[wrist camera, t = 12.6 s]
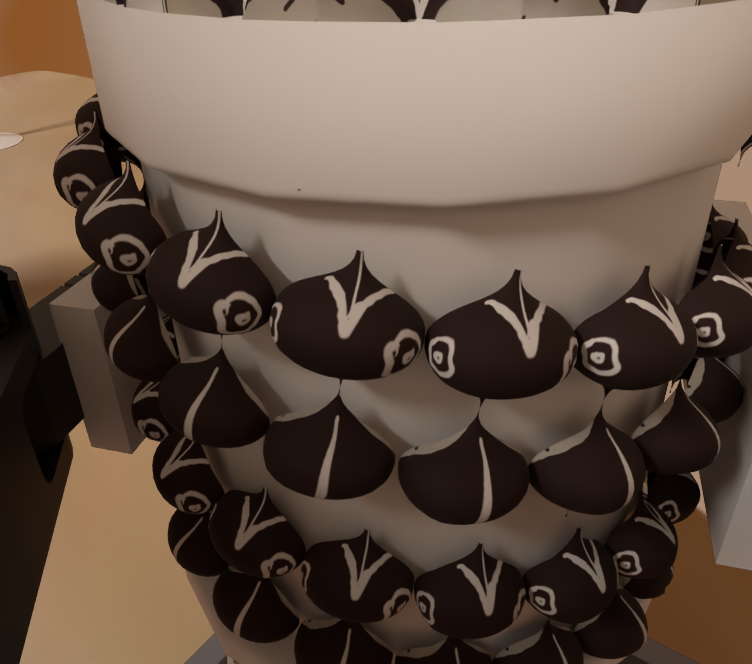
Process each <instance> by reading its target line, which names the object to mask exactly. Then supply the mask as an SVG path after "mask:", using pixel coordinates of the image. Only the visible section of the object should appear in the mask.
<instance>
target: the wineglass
mask: <svg viewBox="0 0 752 664" xmlns="http://www.w3.org/2000/svg"><path fill="white" fill-rule="evenodd" d="M22 139H23V137H22V136H21V135H19V134H14V133H3V132H2V133H0V150H1V149H5V148H8V147H11V146H13V145H16V144H18V143H19V142H21V141H22Z"/></svg>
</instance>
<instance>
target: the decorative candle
mask: <svg viewBox="0 0 752 664" xmlns="http://www.w3.org/2000/svg"><path fill="white" fill-rule="evenodd" d="M77 4H78V9H79V14H80V18H81V22H82V27H83V32H84V36H85V40H86V45H87V49H88V53H89V58H90V63H91V67H92V72H93V76H94V81H95V85H96V90H97V93H96V94H95V95H94V96H92V97H91V98H89V99H88V100H87V101H86V102H85V103H84V104H83V105H82V106H81V107H80V109H79V110H78V112H77V114H76V119H75V124H76V130H77V134H78V137H76V138H75V139H73V140H72V141H71V142H69V143H68V144H67V145H66V146H65V147H64V148H63V149H62V151H61V152H60V153H59V155H58V157H57V159H56V161H55V165H54V172H53V177H54V182H55V186H56V189H57V191H58V192H59V194H60V196H61V197H62V198H63V199H64V200H65V201H66V202H68V203H69V204H70V205H71V206H73V207H75V208H77V212H76V216H75V226H76V234H77V237H78V239H79V241H80V244H81V246H82V248H83V249H84V251H85V252H86V253H87V254H88V255H89V256H90V258H91V259H92V260H93V261H95V262H96V263H95V265H94V267H93V270H92V274H91V287H92V291H93V294H94V296H95V298H96V299H97V301H98V302H99V304H101V305H102V306H103V307H105V308H106V309H107V310H109V311H111V312H112V313H111V314H110V316H109V318H108V319H107V322H106V324H105V328H104V346H105V349H106V351H107V354H108V356H109V358H110V359H111V361H112V362H113V364H114V365H115V366H116V367H117V368H119V369H120V370H121V371H122V372H123V373H125V374H126V375H128V376H130V377H132V378H135V379H138V380H141V383H140V384H139V386H138V387H137V389H136V391H135V393H134V396H133V400H132V404H131V413H132V418H133V422H134V425H135V426H136V428H137V429H138V431H139V432H140V434H142V435H143V436H145V437H147V438H149V439H151V440H155V441H159V442H161V443H160V444H159V446H158V447H157V449H156V452H155V454H154V457H153V465H152V468H153V478H154V481H155V483H156V486H157V489H158V491H159V492H160V494H161V495H162V497H163V498H164V499H165V500H166V501H167V502H168V503H169V504H170V505H172V506H174V507H175V508H177V510H176V511H175V513H174V514H173V516H172V517H171V520H170V523H169V527H168V543H169V546H170V549H171V552H172V554H173V556H174V557H175V559H176V561H177V562H178V563H179V564H180V565H181V566H182V567H183V568H184V569H185V570H186V574H187V578H188V580H189V582H190V584H191V586H192V588H193V590H194V592H195V594H196V596H197V598H198V600H199V602H200V604H201V606H202V608H203V610H204V612H205V614H206V616H207V618H208V620H209V622H210V624H211V627H212V629H213V631H214V633H215V635H216V637H217V639H218V641H219V643H220V645H221V647H222V649H223V651H224V653H225V654H226V655H227V664H618V663H619V662H621V661H622V660H623V659H625V658H626V657H627V656H629V655H631V654H632V653H634V652H636V651H638V650H639V649H640V648H641V647H642V646H643V645H644V644H645V642H646V640H647V631H648V627H647V620H646V616H645V613H646V611H647V609H648V606H649V604H650V602H651V599H652V598H655V597H658V596H660V595H662V594H664V592H665V588H666V587H667V586H668V584H669V583H670V582H671V580H672V578H673V573H674V569H673V563H674V561H675V558H676V555H677V549H678V539H677V534H676V530H675V527H674V526H673V524H675V523H678V522H680V521H682V520H684V519H686V518H687V517H688V516H689V515H690V514H691V513H692V512H693V511H694V510H695V508H696V506H697V504H698V503H699V500H700V489H699V486H698V484H697V482H696V480H695V479H694V477H693V476H692V475H691V472H695V471H698V470H701V469H703V468H705V467H707V466H708V465H710V464H711V463H712V462H713V461H714V460H715V458H716V457H717V455H718V453H719V450H720V434H719V430H718V427H717V425H716V424H717V423H720V422H722V421H725V420H727V419H728V418H730V417H731V416H732V415H733V414H734V413H735V412H736V411H737V410H738V408H739V406H740V404H741V402H742V399H743V384H742V382H741V379H740V378H739V376H738V374H737V373H736V372H735V371H734V370H733V369H732V368H730V367H729V366H728V365H727V364H725V363H724V362H723V361H724V358H725V357H728V356H732V355H736V354H739V353H742V352H744V351H746V350H748V349H749V348H750V347H751V346H752V245H751V244H750V243H749V242H748V237H747V236H746V234H745V232H744V231H743V230H742V229H741V228H740V227H739V226H738V220H739V219H737V218H735V221H734V222H733V221H731V220H730V219H728V218H726V217H725V216H723V215H721V214H720V213H719V212H718V211H717V210H716V209H715V208H714V206H713V199H714V195H715V191H716V187H717V183H718V179H719V175H720V171H721V167H722V163H725V162H728V161H730V160H731V159H732V158H733V156H734V155H735V154H736V153H737V152H738V151H739V149H740V148H741V156H740V160H741V158H742V156H743V154H744V152H745V151H746V150H747V149H748V148H749V147H751V146H752V0H77ZM121 162H126V169H125V172H124V174H123V175H122V166H121ZM130 163H132V164H134V165H136V166H137V167H138V168H139V169H140V170H141V172H142V171H143V172H142V174H143V178H144V184H143V187H142V189H141V191H140V192H139V190H138V187H137V185H136V182H135V180H134V177H133V173H132V170H131V165H130ZM738 166H739V164H738ZM148 290H149V294H148ZM156 304H157V306H158V307H159V308H160V309H161V310H162V311H163V312H164V313H165V314H166V316H164V317H163V318H161V316H160V313H159V311H158V308H157V306H156ZM681 379H685V380H687V388H686V390H685V392H684V390H683V388H682V384H681ZM671 380H672V387H673V384H674V383H675V382H676V381H678V380H680V381H679V384H678V386H677V388H676V390H675V391H674V392H673V393H672V395H671V396H670V397H669V398H668V399H667V400H666V401H665V402H664V399H665V395H666V391H667V387H668V382H669V381H671ZM672 387H671V388H672ZM670 393H671V391H670ZM645 476H646V477H647V476H648V478H647V485H646V483H645V479H646V477H645Z"/></svg>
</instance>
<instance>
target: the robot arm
mask: <svg viewBox="0 0 752 664" xmlns="http://www.w3.org/2000/svg"><path fill="white" fill-rule="evenodd" d="M713 206H714V208H715V209H716V210H717V211H718V212H719V213H720V214H721V215H723V216H725V217H726V218H728V219H730V220H731V221H733V222H734V221H735V218H737V219H739V220H738V226H739V227H740V228H741V229H742V230H743V231H744V232H745V234H746V236H747V237H748V242H749V243H750V244H751V245H752V215H751V213H750V211H749V208H748V206H747V204H746V203H745V202H736V201H723V200H713ZM95 263H96V262H94V263H92V264H91V265H90V266H88V267H87V268H86V269H84V270H83V271H81V272H80V273H79V276H74V277H73V278H72V279H70V280H69V281H67V282H66V283H65V286H60V287H59V288H58V289H56V290H55V291H54V292H52V293H51V294H49V295H48V296H47V297H45V298H44V299H42V300H41V301H40V302H38V303H37V304H35V305H34V306H33V307H31V308H30V309H28V306H27V303H26V300H25V297H24V293H23V290H22V287H21V284H20V281H19V278H18V275H17V272H15V271H14V270H13V269H12V268H10V267H6V266H1V265H0V664H19V663H20V659H21V655H22V651H23V647H24V643H25V639H26V636H27V632H28V628H29V624H30V620H31V616H32V613H33V609H34V605H35V601H36V597H37V593H38V589H39V586H40V582H41V578H42V574H43V570H44V566H45V562H46V559H47V555H48V551H49V547H50V543H51V539H52V535H53V532H54V528H55V524H56V520H57V516H58V512H59V508H60V505H61V501H62V497H63V493H64V489H65V485H66V481H67V478H68V474H69V470H70V466H71V462H72V458H73V447H72V444H71V441H70V437H69V432H70V431H71V430H72V429H73V428H74V427H75V426H76V425H77V424H78V423H79V422H80V421H81V420H82V419H83V420H84V423H85V426H86V430H87V433H88V436H89V440H90V443H91V446H92V447H96V448H101V449H107V450H112V451H117V452H123V453H128V454H132V453H133V452H134V451H135V450H136V449H137V447H138V446H139V445H140V444H141V443H142V441H143V440H144V439H145V438H146V437H145V436H143V435H142V434H140V432H139V431H138V429H137V428H136V426H135V425H134V422H133V418H132V413H131V404H132V400H133V396H134V393H135V391H136V389H137V387H138V386H139V384H140V383H141V380H138V379H135V378H132V377H130V376H128V375H126V374H125V373H123V372H122V371H121V370H120V369H119V368H117V367H116V366H115V365H114V364H113V362H112V361H111V359H110V358H109V356H108V354H107V351H106V349H105V346H104V328H105V324H106V322H107V319H108V318H109V316H110V314H111V313H112V312H111V311H109V310H107V309H106V308H105V307H103V306H102V305H101V304H99V302H98V301H97V299H96V298H95V296H94V294H93V291H92V287H91V274H92V270H93V267H94V265H95ZM148 294H149V290H148ZM156 306H157V304H156ZM157 308H158V311H159V313H160V316H161V318H163V317H164V316H166V314H165V313H164V312H163V311H162V310H161V309H160V308H159V307H158V306H157ZM723 362H724V363H725V364H727V365H728V366H729V367H730V368H732V369H733V370H734V371H735V372H736V373H737V374H738V376H739V378H740V379H741V382H742V384H743V399H742V402H741V404H740V406H739V408H738V410H737V411H736V412H735V413H734V414H733V415H732V416H731V417H730V418H728V419H727V420H725V421H722V422H720V423H717V424H716V425H717V427H718V430H719V434H720V450H719V453H718V455H717V457H716V458H715V460H714V461H713V462H712V463H711V464H710V465H708V466H707V467H705V468H703V469H701V470H699V474H700V479H701V485H702V490H703V496H704V502H705V507H706V513H707V519H708V525H709V530H710V536H711V542H712V547H713V553H714V559H715V564H719V565H725V566H730V567H735V568H741V569H746V570H751V571H752V346H751V347H750V348H749V349H748V350H746V351H744V352H742V353H739V354H736V355H732V356H728V357H725V358H724V361H723ZM683 383H684V389H685V390H686V388H687V380H685V379H683Z"/></svg>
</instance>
